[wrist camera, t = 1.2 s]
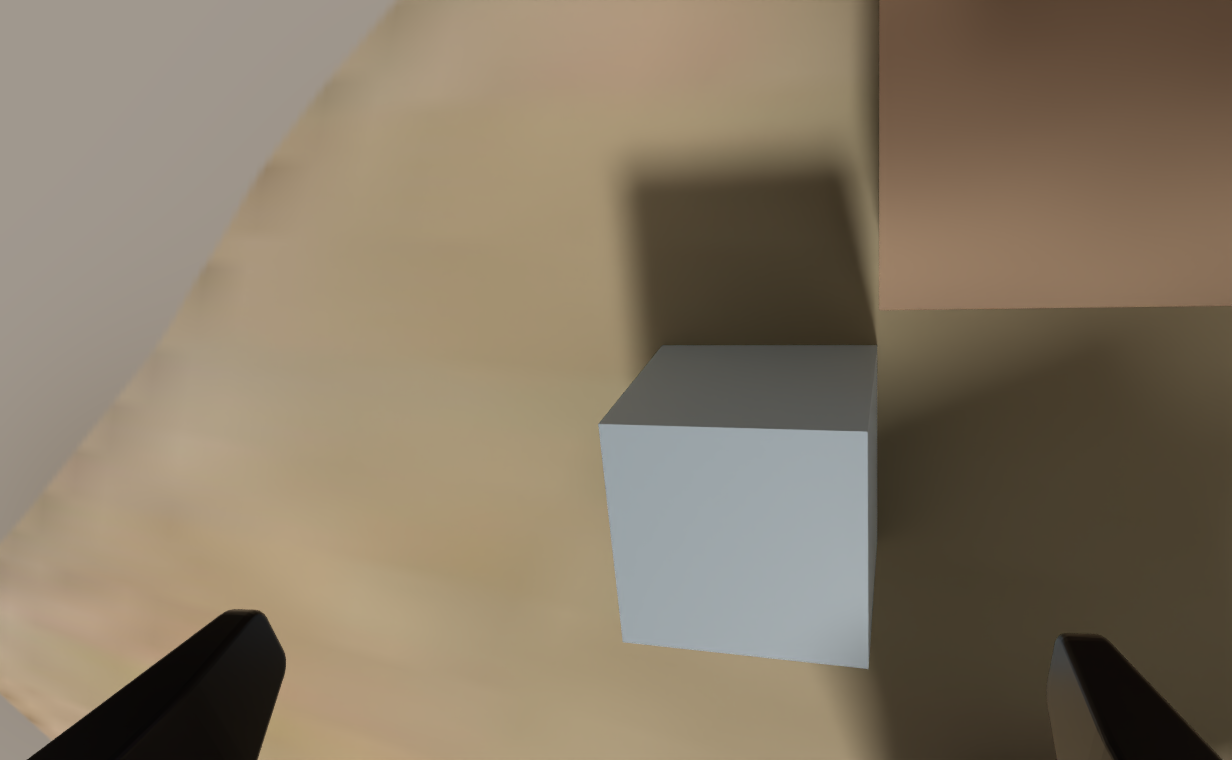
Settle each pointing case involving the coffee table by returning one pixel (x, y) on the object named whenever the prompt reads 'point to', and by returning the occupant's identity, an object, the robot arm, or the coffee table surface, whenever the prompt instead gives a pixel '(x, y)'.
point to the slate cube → (747, 500)
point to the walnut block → (1055, 153)
